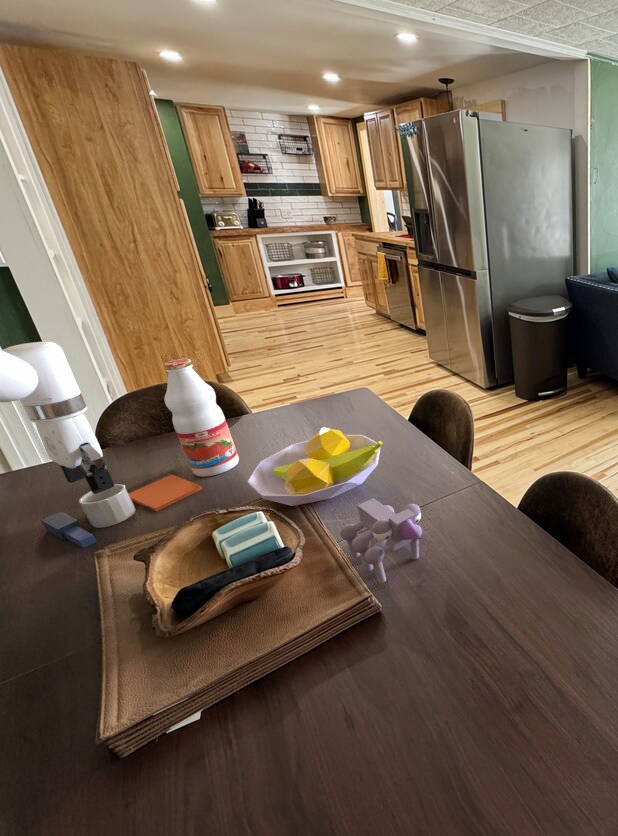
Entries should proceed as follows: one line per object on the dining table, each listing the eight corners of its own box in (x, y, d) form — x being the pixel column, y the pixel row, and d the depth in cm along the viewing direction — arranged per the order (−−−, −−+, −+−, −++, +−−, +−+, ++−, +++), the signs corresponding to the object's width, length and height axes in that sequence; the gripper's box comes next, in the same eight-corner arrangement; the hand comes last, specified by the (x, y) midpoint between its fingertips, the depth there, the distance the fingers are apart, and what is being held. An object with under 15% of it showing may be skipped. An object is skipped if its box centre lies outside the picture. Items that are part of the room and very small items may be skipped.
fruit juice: (241, 453, 124) (205, 352, 113) (238, 470, 116) (200, 364, 105) (196, 463, 119) (154, 359, 108) (190, 482, 112) (144, 372, 101)
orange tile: (156, 511, 102) (154, 508, 101) (126, 498, 106) (124, 495, 106) (202, 488, 109) (201, 486, 109) (172, 477, 114) (171, 474, 113)
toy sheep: (455, 573, 85) (445, 511, 80) (401, 612, 77) (386, 547, 72) (394, 528, 96) (382, 472, 91) (341, 558, 88) (325, 499, 83)
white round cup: (101, 531, 96) (89, 507, 94) (85, 522, 98) (72, 498, 96) (142, 511, 102) (131, 488, 99) (125, 504, 104) (114, 481, 102)
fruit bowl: (227, 506, 103) (210, 462, 99) (329, 446, 127) (319, 408, 122) (326, 534, 95) (312, 486, 90) (415, 464, 118) (408, 424, 114)
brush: (80, 550, 91) (73, 538, 90) (47, 531, 96) (40, 520, 95) (100, 540, 93) (94, 528, 92) (66, 522, 98) (60, 511, 97)
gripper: (7, 407, 90) (45, 484, 96) (50, 423, 83) (88, 505, 89) (61, 393, 96) (94, 466, 102) (105, 407, 89) (137, 484, 96)
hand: (91, 484), depth 96 cm, fingers open, 9 cm apart
